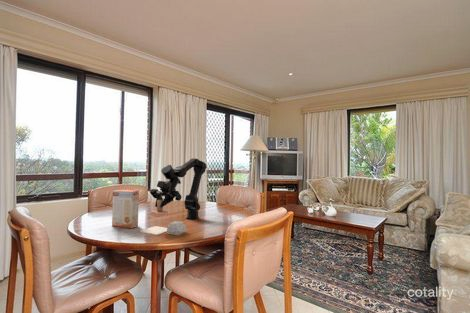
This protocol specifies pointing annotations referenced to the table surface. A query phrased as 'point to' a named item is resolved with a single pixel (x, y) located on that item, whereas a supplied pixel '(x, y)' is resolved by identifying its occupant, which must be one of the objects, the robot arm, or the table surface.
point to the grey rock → (176, 228)
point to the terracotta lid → (159, 210)
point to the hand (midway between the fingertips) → (158, 207)
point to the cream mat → (155, 230)
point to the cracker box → (125, 208)
